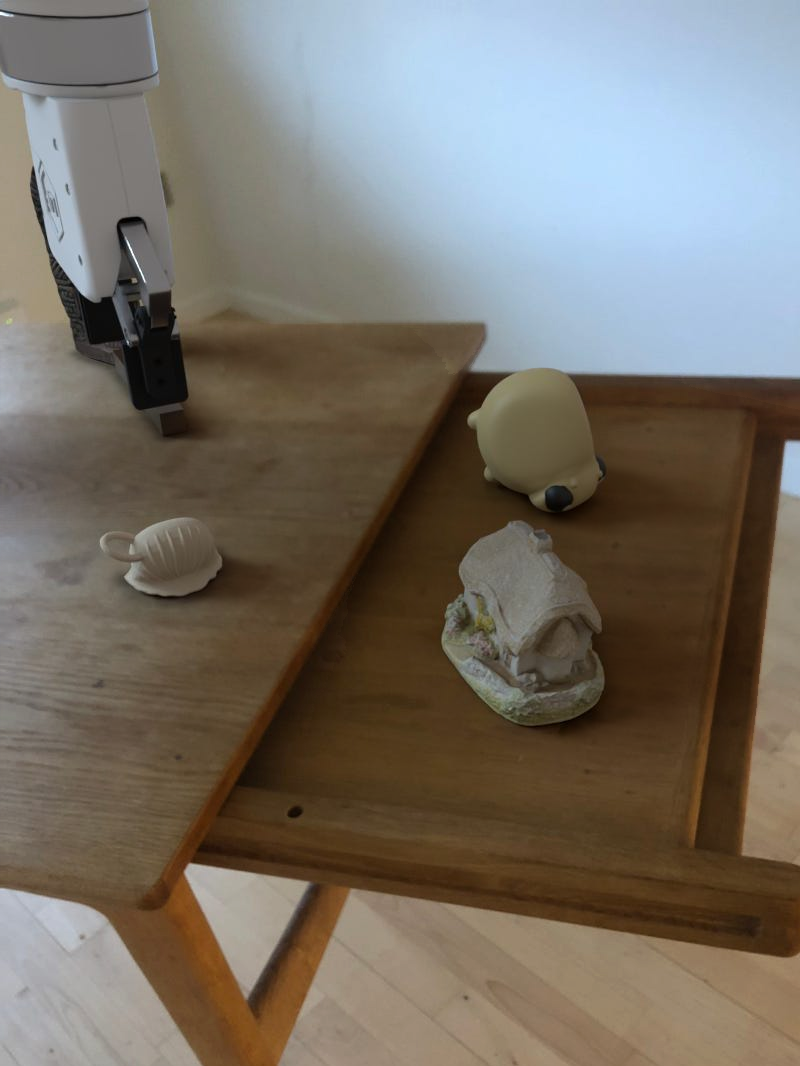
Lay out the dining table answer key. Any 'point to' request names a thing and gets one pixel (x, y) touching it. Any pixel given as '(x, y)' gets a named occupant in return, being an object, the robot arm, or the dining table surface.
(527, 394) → the toy pig
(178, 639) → the dining table surface
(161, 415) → the walnut stick
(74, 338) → the statue
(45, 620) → the dining table surface
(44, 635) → the dining table surface
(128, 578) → the decorative ornament
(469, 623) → the ceramic model
